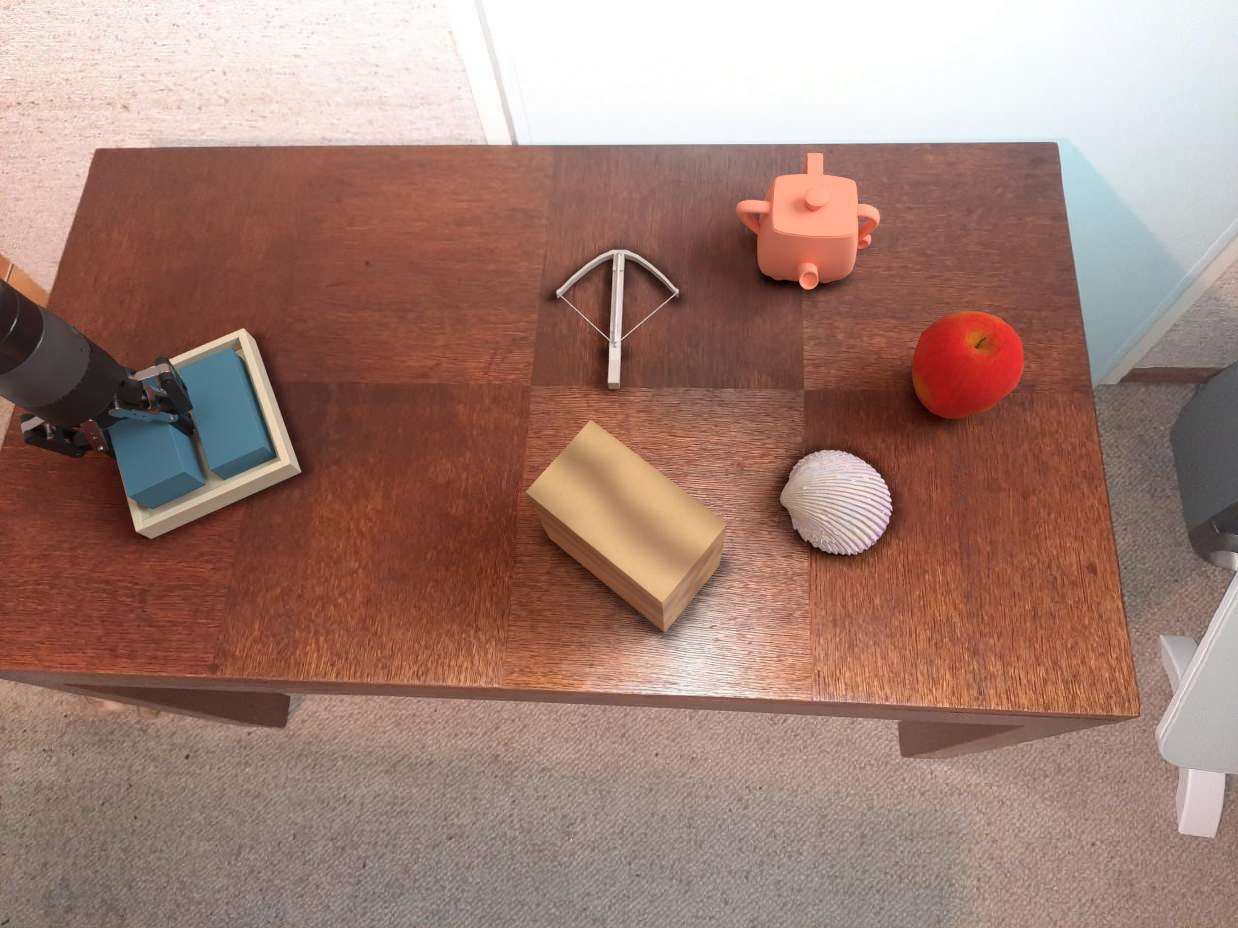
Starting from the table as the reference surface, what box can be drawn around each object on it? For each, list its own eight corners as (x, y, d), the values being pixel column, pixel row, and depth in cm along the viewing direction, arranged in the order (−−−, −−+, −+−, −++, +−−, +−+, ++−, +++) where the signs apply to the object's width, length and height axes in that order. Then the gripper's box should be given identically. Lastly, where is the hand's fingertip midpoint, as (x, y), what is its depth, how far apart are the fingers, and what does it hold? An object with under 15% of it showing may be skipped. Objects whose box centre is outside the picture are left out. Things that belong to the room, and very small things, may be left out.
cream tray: (151, 539, 83) (135, 531, 81) (113, 400, 89) (97, 389, 87) (301, 472, 85) (290, 463, 82) (255, 339, 90) (243, 327, 88)
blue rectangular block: (152, 509, 82) (127, 497, 78) (121, 408, 86) (96, 392, 82) (206, 485, 83) (184, 471, 79) (173, 385, 87) (150, 367, 83)
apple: (1005, 374, 84) (1056, 311, 72) (976, 452, 81) (1024, 400, 70) (913, 339, 86) (949, 273, 74) (882, 415, 83) (914, 358, 72)
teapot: (798, 325, 87) (812, 273, 78) (725, 247, 91) (730, 188, 82) (884, 265, 89) (908, 207, 80) (809, 190, 92) (824, 127, 83)
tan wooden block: (664, 633, 77) (662, 603, 64) (549, 538, 81) (524, 492, 68) (719, 565, 79) (727, 523, 66) (604, 476, 83) (590, 419, 70)
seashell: (774, 440, 79) (886, 430, 77) (780, 461, 84) (886, 452, 82) (779, 546, 76) (898, 539, 73) (786, 561, 81) (897, 556, 78)
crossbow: (561, 259, 92) (559, 247, 90) (679, 258, 91) (679, 246, 90) (551, 389, 86) (548, 379, 84) (677, 389, 85) (677, 379, 83)
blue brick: (225, 480, 84) (209, 470, 82) (194, 382, 88) (178, 369, 86) (277, 457, 85) (263, 446, 82) (244, 360, 89) (230, 347, 86)
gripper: (-40, 438, 67) (98, 503, 82) (136, 364, 68) (239, 442, 84) (-55, 361, 69) (82, 439, 85) (115, 291, 70) (219, 380, 86)
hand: (159, 440), depth 84 cm, fingers closed on blue rectangular block, 5 cm apart
